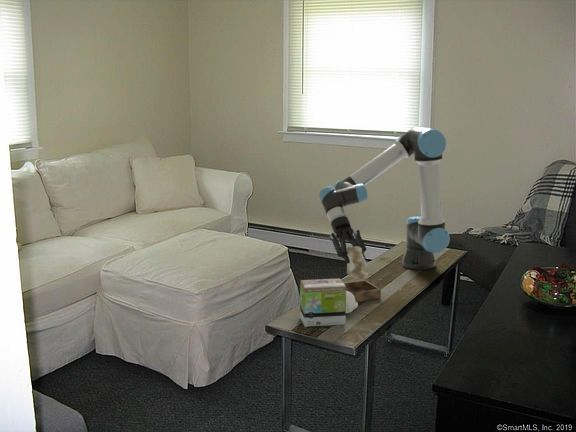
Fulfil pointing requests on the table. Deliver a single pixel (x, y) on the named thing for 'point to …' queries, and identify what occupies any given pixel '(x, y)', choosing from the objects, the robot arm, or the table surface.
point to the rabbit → (350, 302)
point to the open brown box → (363, 290)
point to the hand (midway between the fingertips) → (359, 268)
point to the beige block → (356, 263)
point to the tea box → (322, 302)
